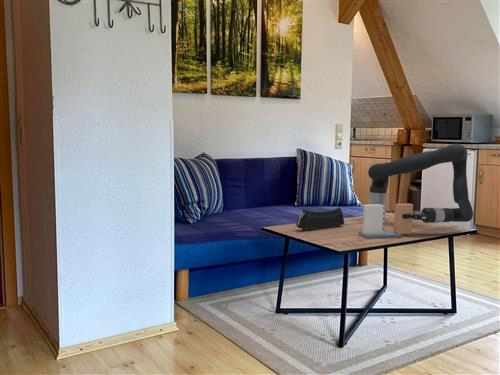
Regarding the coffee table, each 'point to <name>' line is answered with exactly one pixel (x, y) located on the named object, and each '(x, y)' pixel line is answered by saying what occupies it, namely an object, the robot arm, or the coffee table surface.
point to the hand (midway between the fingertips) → (401, 215)
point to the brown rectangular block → (399, 222)
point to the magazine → (320, 219)
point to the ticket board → (375, 223)
